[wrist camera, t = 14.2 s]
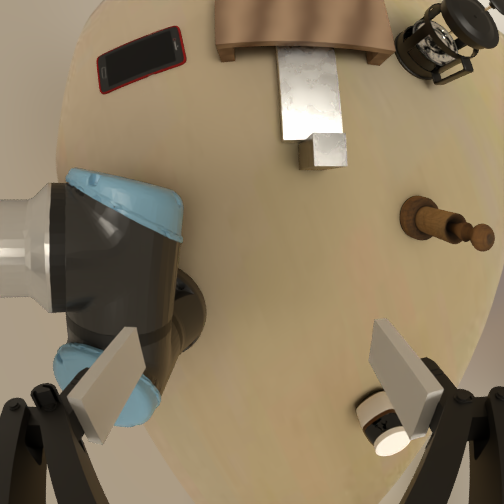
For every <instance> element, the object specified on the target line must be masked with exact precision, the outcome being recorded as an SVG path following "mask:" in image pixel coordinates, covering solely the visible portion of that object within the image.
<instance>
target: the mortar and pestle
mask: <svg viewBox="0 0 504 504" xmlns="http://www.w3.org/2000/svg"><path fill="white" fill-rule="evenodd" d="M400 222H401V226H402V229H403V230H404V232H405V233H406V234H407V235H408V236H410V237H412V238H415V239H417V240H427V239H429V238H431V237H432V236H434V237H437V238H439V239H442V240H444V241H447V242H449V243H452V244H458V243H460V242H461V241H464V242H467V241H469V240H470V241H471V243H472V245H473V246H474V248H475V249H477V250H479V251H487V250H489V249H490V248H491V247H492V246H493V244H494V240H495V236H494V232H493V230H492V229H491V227H489V226H488V225H486V224H479V225H477V226H475V227H474V228H473V227H472V225H471V224H470V223H466V220H465V218H464V217H463V216H462V215H460V214H457V213H453V212H448V211H444V210H440V209H438V207H437V205H436V204H435V203H434V202H433V201H432V200H431V199H429V198H426V197H421V196H414V197H411V198H409V199H408V200H407V201H406V202H405V203H404V204H403V206H402V209H401V213H400Z"/></svg>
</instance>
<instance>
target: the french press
mask: <svg viewBox="0 0 504 504" xmlns="http://www.w3.org/2000/svg"><path fill="white" fill-rule="evenodd" d="M489 5H490V6H488V7H486V8H484V6H483V5H482V4H481V3H480V2H479V1H478V0H443V1H442V3H437V4H433V5H432V6H431V7H429V8H428V9H427V10H426V12H425V14H424V17H423V18H422V19H420V20H419V21H417V22H416V23H415V24H414V26H410V27H408V28H407V29H406V30H405V31H404V32H401V33H400V34H398V36H397V37H396V39H395V41H394V45H395V50H396V51H395V54H396V56H397V59H398V60H399V62H400V64H401V65H402V66H403V67H404V68H405V69H406V70H407V71H408V72H409V73H411V74H412V75H413V76H415V77H417V78H420V79H424V80H431V79H433V82H434V84H435V85H444V84H446V83H448V82H451V81H453V80H455V79H458V78H460V77H462V76H464V75H467V74H469V73H472V72H473V67H472V64H471V61H470V59H471V58H473V57H475V56H476V55H477V53H478V51H479V49H484V48H486V49H491V48H494V47H496V46H497V44H498V42H499V34H498V30H497V27H496V24H495V22H494V20H493V18H492V17H491V15H490V14H489V12H488V11H487V10H489V9H490V8H493V9H495V8H496V9H497V10H498V11H499V12H500V13H501V14H503V15H504V0H490V3H489ZM432 8H433V9H432ZM430 9H432V10H431V11H430ZM440 12H441V13H442V16H443V18H444V20H445V22H446V24H447V25H448V27H449V28H450V29H451V31H450V32H449V33H448V32H447V31H446V30H445V29H444V28H443V27H442V26H441V25H439V24H437V23H436V22H434V21H431V20H432V19H433V18H434V17H435V16H437V15H438V14H439V13H440ZM452 33H454V34H455V35H456V36H457V37H458V38H457V39H456V40H453V38H452V36H451V35H450V34H452ZM406 38H408V39H407V40H405V39H406ZM404 40H405V41H404ZM467 45H468V46H470V47H472V48H473V54H472V55H471V57H465V56H462V55H459V54H458V50H459V49H461V48H463V47H465V46H467ZM415 46H416V47H417V48H418V50H419V51H420V52H421V53H422V55H423V56H425V57H426V58H427V59H428V60H429V61H431V62H432V63H434V64H436V65H435V68H434V69H433V70H432V71H428V70H426V69H424V68H422V67H421V66H420V65H418V64H417V63H416V62H415V61H414V60H413V59H412V57H411V56H410V54H409V53H408V51H409V50H411V49H412V48H413V47H415ZM461 62H462V65H463V70H461V71H459V72H456V73H454V74H452V75H450V76H448V77H446V78H444V79H441V76H440V74H441V73H443V72H444V71H446V70H448V69H450V68H451V67H453V66H455V65H457V64H459V63H461Z"/></svg>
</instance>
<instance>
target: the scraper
mask: <svg viewBox="0 0 504 504" xmlns="http://www.w3.org/2000/svg"><path fill="white" fill-rule="evenodd" d="M276 59H277V72H278V86H279V101H280V117H281V134H282V142H302V143H301V144H299V145H298V152H299V170H327V169H333V168H339V167H346V166H347V147H346V133H343V130H342V117H341V105H340V94H339V85H338V76H337V67H336V59H335V52H334V47H319V46H276Z"/></svg>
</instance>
